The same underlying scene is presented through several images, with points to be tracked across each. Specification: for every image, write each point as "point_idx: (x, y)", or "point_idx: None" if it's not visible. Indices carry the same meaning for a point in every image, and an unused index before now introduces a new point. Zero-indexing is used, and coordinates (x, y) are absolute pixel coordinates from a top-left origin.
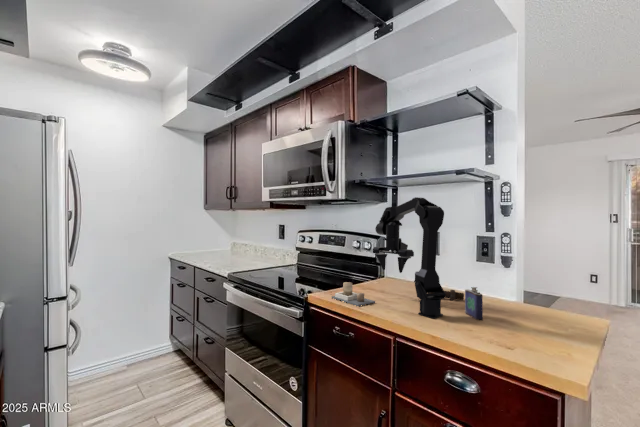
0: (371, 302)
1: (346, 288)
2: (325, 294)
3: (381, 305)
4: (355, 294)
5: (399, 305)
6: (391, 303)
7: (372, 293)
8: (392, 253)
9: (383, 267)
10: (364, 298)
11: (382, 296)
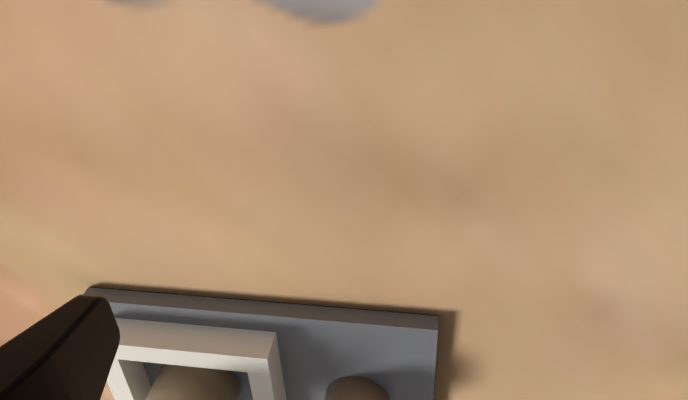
0: (435, 359)
1: None
2: None
3: (531, 332)
4: (216, 361)
5: (678, 221)
6: (562, 220)
7: (74, 24)
8: None
9: (92, 396)
10: (307, 326)
11: (267, 45)
